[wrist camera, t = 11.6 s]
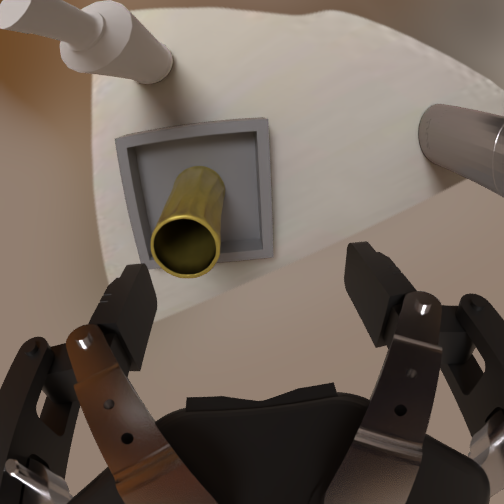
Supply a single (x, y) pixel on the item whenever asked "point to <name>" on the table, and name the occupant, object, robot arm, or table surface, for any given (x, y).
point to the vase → (190, 224)
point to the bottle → (93, 37)
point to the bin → (214, 157)
